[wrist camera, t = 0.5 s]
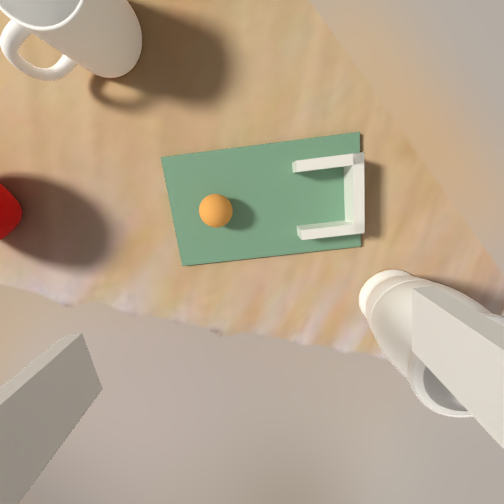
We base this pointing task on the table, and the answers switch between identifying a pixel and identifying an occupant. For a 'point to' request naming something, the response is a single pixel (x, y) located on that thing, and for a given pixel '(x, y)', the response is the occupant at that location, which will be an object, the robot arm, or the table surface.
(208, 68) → the table surface
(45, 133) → the table surface
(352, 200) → the white c-shaped bracket
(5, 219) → the tomato
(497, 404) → the robot arm
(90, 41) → the cup
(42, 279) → the table surface
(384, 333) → the jar
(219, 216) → the ball
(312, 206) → the putting mat
